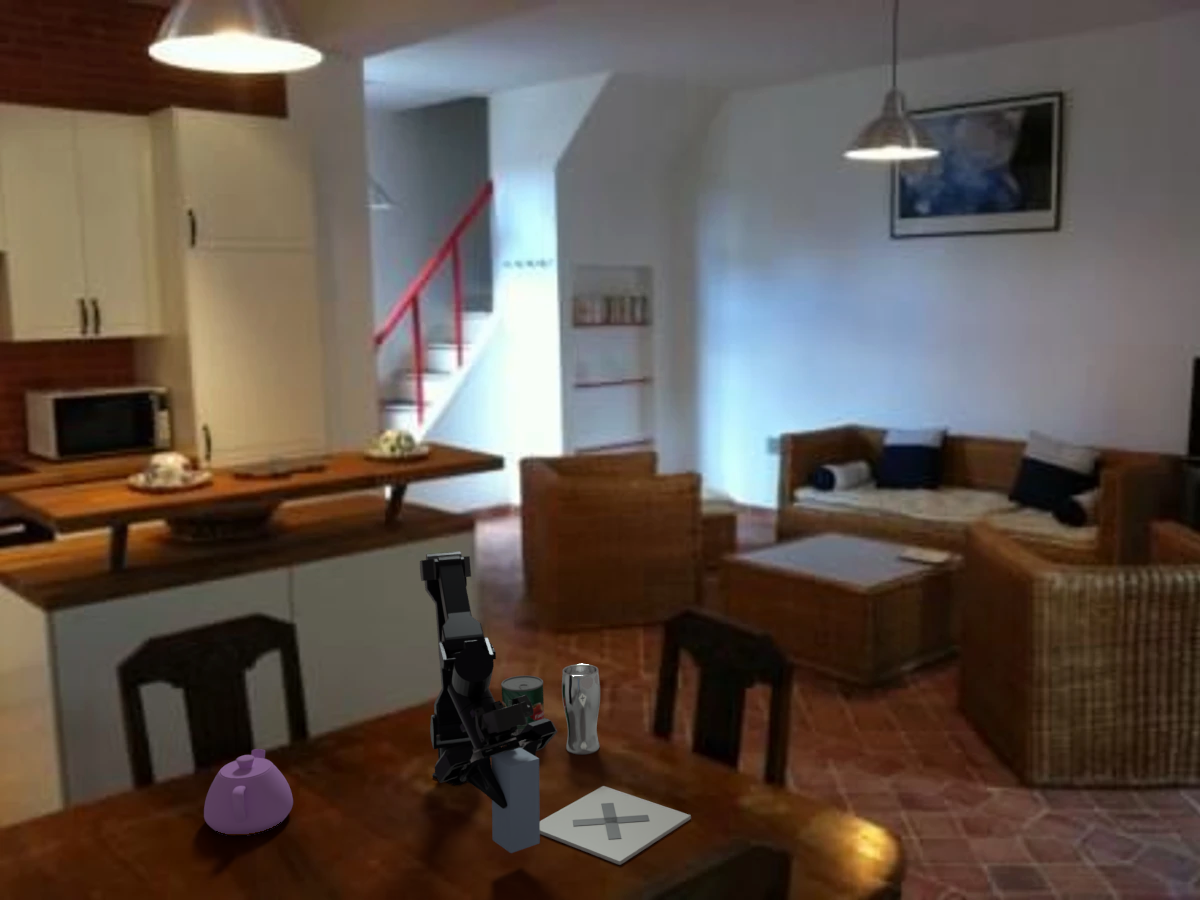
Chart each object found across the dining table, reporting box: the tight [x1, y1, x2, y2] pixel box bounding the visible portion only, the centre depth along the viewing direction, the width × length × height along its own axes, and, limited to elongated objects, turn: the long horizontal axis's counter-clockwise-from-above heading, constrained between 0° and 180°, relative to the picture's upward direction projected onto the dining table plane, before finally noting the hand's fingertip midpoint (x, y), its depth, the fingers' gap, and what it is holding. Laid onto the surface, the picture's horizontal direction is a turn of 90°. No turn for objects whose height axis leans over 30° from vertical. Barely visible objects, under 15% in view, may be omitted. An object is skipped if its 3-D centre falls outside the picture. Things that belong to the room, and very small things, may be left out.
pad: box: [540, 785, 692, 866], centre depth 177 cm, size 18×18×1 cm
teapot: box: [203, 748, 294, 834], centre depth 182 cm, size 14×20×11 cm
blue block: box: [490, 748, 541, 854], centre depth 164 cm, size 5×5×13 cm
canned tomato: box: [500, 675, 545, 736], centre depth 211 cm, size 8×8×11 cm
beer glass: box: [561, 663, 601, 755], centre depth 206 cm, size 7×7×15 cm
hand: (520, 801), depth 163 cm, fingers closed on blue block, 5 cm apart
